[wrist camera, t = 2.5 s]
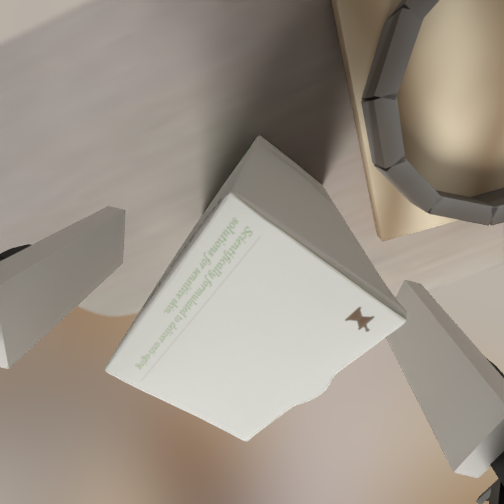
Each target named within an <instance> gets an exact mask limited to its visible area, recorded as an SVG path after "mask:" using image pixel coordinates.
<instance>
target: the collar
mask: <svg viewBox="0 0 504 504" xmlns="http://www.w3.org/2000/svg"><path fill="white" fill-rule="evenodd" d="M331 2H332V7H333V12H334V17H335V23H336V28H337V33H338V38H339V43H340V48H341V53H342V58H343V63H344V68H345V73H346V78H347V84H348V89H349V94H350V99H351V104H352V109H353V114H354V119H355V124H356V129H357V134H358V140H359V145H360V150H361V155H362V160H363V165H364V170H365V175H366V180H367V185H368V190H369V196H370V201H371V206H372V211H373V216H374V221H375V226H376V231H377V236H378V237H379V238H380V239H381V240H382V241H386V240H390V239H393V238H397V237H400V236H404V235H408V234H411V233H415V232H418V231H422V230H425V229H429V228H433V227H436V226H440V225H443V224H447V223H450V222H454V221H458V220H463V221H468V222H473V223H478V224H483V225H489V224H490V225H495V224H499V223H503V222H504V0H331Z"/></svg>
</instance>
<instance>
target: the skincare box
mask: <svg viewBox="0 0 504 504" xmlns="http://www.w3.org/2000/svg"><path fill="white" fill-rule="evenodd" d="M406 321H407V310H406V309H405V308H404V307H403V306H402V305H401V304H400V303H399V302H398V301H397V299H396V298H395V297H394V296H393V294H392V293H391V292H390V290H389V289H388V287H387V286H386V284H385V283H384V282H383V280H382V279H381V277H380V276H379V274H378V272H377V271H376V269H375V268H374V266H373V264H372V263H371V261H370V260H369V258H368V257H367V255H366V253H365V252H364V250H363V249H362V247H361V246H360V244H359V242H358V241H357V239H356V238H355V236H354V235H353V233H352V231H351V230H350V228H349V227H348V225H347V224H346V222H345V220H344V219H343V217H342V216H341V214H340V212H339V211H338V209H337V208H336V206H335V205H334V203H333V202H332V200H331V198H330V197H329V195H328V193H327V192H326V190H325V188H324V187H323V185H322V184H320V183H319V182H318V181H317V180H316V179H314V178H313V177H312V176H311V175H310V174H308V173H307V172H306V171H305V170H303V169H302V168H301V167H300V166H299V165H297V164H296V163H295V162H294V161H292V160H291V159H290V158H289V157H287V156H286V155H285V154H283V153H282V152H281V151H280V150H278V149H277V148H276V147H275V146H273V145H272V144H271V143H269V142H268V141H267V140H266V139H264V138H263V137H262V136H257V138H256V139H255V140H254V142H253V143H252V145H251V146H250V148H249V149H248V150H247V152H246V153H245V155H244V156H243V157H242V159H241V160H240V162H239V163H238V165H237V166H236V167H235V169H234V170H233V172H232V173H231V174H230V176H229V177H228V179H227V180H226V182H225V183H224V184H223V186H222V187H221V189H220V190H219V192H218V193H217V195H216V196H215V198H214V199H213V201H212V202H211V203H210V205H209V206H208V208H207V209H206V211H205V212H204V214H203V215H202V216H201V218H200V219H199V221H198V222H197V224H196V225H195V227H194V228H193V230H192V231H191V233H190V234H189V236H188V237H187V239H186V240H185V242H184V243H183V245H182V246H181V248H180V249H179V251H178V252H177V254H176V256H175V257H174V259H173V260H172V262H171V263H170V265H169V266H168V268H167V269H166V271H165V273H164V274H163V276H162V277H161V279H160V280H159V282H158V283H157V285H156V287H155V288H154V290H153V291H152V293H151V295H150V296H149V298H148V299H147V301H146V302H145V304H144V306H143V307H142V309H141V310H140V312H139V314H138V315H137V317H136V318H135V320H134V322H133V323H132V325H131V327H130V328H129V330H128V331H127V333H126V334H125V336H124V338H123V339H122V341H121V343H120V344H119V346H118V348H117V349H116V351H115V352H114V354H113V356H112V357H111V359H110V361H109V362H108V364H107V366H106V367H105V371H106V372H107V373H109V374H111V375H113V376H115V377H117V378H119V379H120V380H122V381H124V382H126V383H128V384H130V385H132V386H134V387H136V388H138V389H140V390H142V391H144V392H146V393H148V394H150V395H153V396H155V397H157V398H159V399H161V400H163V401H165V402H168V403H170V404H172V405H174V406H176V407H178V408H180V409H182V410H184V411H186V412H188V413H191V414H193V415H195V416H197V417H199V418H201V419H203V420H205V421H207V422H209V423H211V424H213V425H215V426H217V427H219V428H221V429H222V430H224V431H226V432H228V433H230V434H232V435H234V436H236V437H237V438H240V439H241V440H244V441H248V440H250V438H252V437H253V436H254V435H256V434H257V433H258V432H260V431H261V430H262V429H264V428H265V427H266V426H268V425H269V424H270V423H272V422H273V421H274V420H276V419H277V418H278V417H280V416H281V415H283V414H284V413H285V412H286V411H288V410H289V409H291V408H292V407H293V406H295V405H298V404H302V403H305V402H308V401H310V400H312V399H314V398H316V397H317V396H319V395H320V394H322V393H323V392H324V391H325V390H326V389H327V388H328V387H329V384H330V383H331V382H332V379H333V377H334V376H335V375H336V374H337V373H338V372H339V371H341V370H342V369H343V368H345V367H346V366H348V365H349V364H350V363H352V362H353V361H354V360H355V359H357V358H358V357H360V356H361V355H362V354H364V353H365V352H366V351H368V350H369V349H370V348H372V347H373V346H375V345H376V344H377V343H378V342H380V341H381V340H383V339H384V338H385V337H387V336H388V335H390V334H391V333H392V332H394V331H395V330H396V329H398V328H399V327H401V326H402V325H403V324H404V323H405V322H406Z"/></svg>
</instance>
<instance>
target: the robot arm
mask: <svg viewBox="0 0 504 504" xmlns="http://www.w3.org/2000/svg"><path fill="white" fill-rule="evenodd" d="M124 229H125V210H123V209H119V208H115V207H110V206H108V207H106V208H104V209H102V210H100V211H98V212H96V213H94V214H92V215H90V216H88V217H86V218H84V219H82V220H80V221H78V222H76V223H74V224H72V225H71V226H69V227H67V228H65V229H63V230H61V231H59V232H57V233H55V234H53V235H51V236H49V237H47V238H45V239H43V240H41V241H39V242H37V243H35V244H33V245H30V244H28V245H24V246H20V247H16V248H12V249H9V250H7V251H5V252H3V253H1V254H0V367H2V368H6V369H9V368H10V367H11V366H12V365H14V364H15V363H16V362H17V361H18V360H19V359H20V358H21V357H22V356H23V355H24V354H25V353H26V352H27V351H29V349H31V348H32V347H33V346H34V345H35V344H36V343H37V342H38V341H39V340H41V339H42V338H43V337H44V336H45V335H46V334H47V333H48V332H49V331H50V330H51V329H52V328H53V327H54V326H55V325H57V324H58V323H59V322H60V321H61V320H62V319H63V318H64V317H65V316H66V315H67V314H69V312H71V311H72V310H73V309H74V308H75V307H76V306H77V305H78V304H79V303H80V302H81V301H83V300H84V299H85V298H86V297H87V296H88V295H89V294H90V293H91V292H92V291H93V290H94V289H95V288H97V287H98V286H99V285H100V284H101V283H102V282H103V281H104V280H105V279H106V278H107V277H108V276H110V275H111V274H112V273H113V272H114V271H115V270H116V269H117V268H118V267H119V266H120V265H121V264H122V263H123V250H124ZM395 298H396V299H397V301H398V302H399V303H400V304H401V305H402V306H403V307H404V308H405V309H406V310H407V321H406V322H405V323H404V324H403V325H402V326H401V327H399V328H398V329H396V330H395V331H394V332H392V333H391V334H390V335H388V336H387V337H386V339H387V341H388V343H389V345H390V347H391V349H392V351H393V353H394V355H395V357H396V359H397V361H398V363H399V365H400V367H401V369H402V371H403V373H404V374H405V377H406V379H407V381H408V383H409V385H410V387H411V389H412V391H413V393H414V395H415V397H416V399H417V401H418V403H419V405H420V406H421V409H422V411H423V413H424V415H425V417H426V419H427V421H428V423H429V425H430V427H431V428H432V431H433V433H434V435H435V437H436V439H437V441H438V442H439V444H440V446H441V449H442V451H443V452H444V455H445V456H446V459H447V460H448V462H449V464H450V467H451V469H452V471H453V472H454V473H459V474H463V475H467V476H471V477H476V478H479V477H480V476H481V475H482V474H483V473H484V472H485V471H486V470H487V469H488V468H489V467H490V466H491V467H492V468H493V470H494V471H495V473H496V475H497V476H498V478H499V479H498V480H497V481H496V482H495V483H494V484H492V486H490V487H489V488H488V489H487V490H486V491H485V492H484V493H483V494H482V495H481V496H479V498H478V499H477V501H476V502H477V503H479V504H482V503H483V502H485V501H489V504H504V375H503V373H502V372H501V371H500V370H499V369H498V368H497V367H496V366H495V365H494V364H493V363H492V362H491V361H489V360H488V359H487V358H486V357H485V356H484V355H483V354H482V353H481V352H480V351H479V350H478V348H477V347H476V346H475V345H474V344H473V343H472V342H471V340H470V339H469V338H468V337H467V336H466V335H465V334H464V332H463V331H462V330H461V329H460V328H459V327H458V326H457V324H455V322H454V321H453V320H452V319H451V318H450V317H449V315H448V314H447V313H446V312H445V311H444V310H443V309H442V307H441V306H440V305H439V304H438V303H437V302H436V301H435V299H434V298H433V297H432V296H431V295H430V294H429V293H428V291H427V290H426V289H425V288H424V287H423V286H422V285H421V284H419V283H415V282H411V281H407V280H405V281H404V283H403V284H402V286H401V288H400V290H399V292H398V294H397V296H396V297H395Z"/></svg>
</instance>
